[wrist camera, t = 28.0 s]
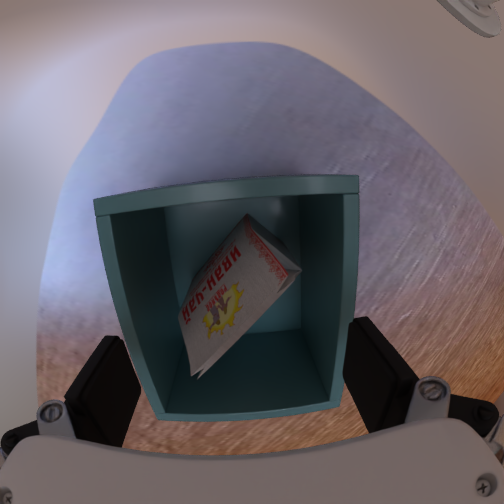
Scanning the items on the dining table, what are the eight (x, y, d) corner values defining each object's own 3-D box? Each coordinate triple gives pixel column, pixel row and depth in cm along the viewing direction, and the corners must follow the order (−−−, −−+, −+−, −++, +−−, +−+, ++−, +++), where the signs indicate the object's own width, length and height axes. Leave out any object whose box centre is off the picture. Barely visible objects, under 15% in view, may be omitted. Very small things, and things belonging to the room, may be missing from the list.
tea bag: (284, 243, 21) (324, 303, 11) (228, 306, 22) (225, 395, 12) (247, 212, 20) (257, 249, 10) (192, 279, 21) (162, 358, 11)
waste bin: (154, 187, 20) (92, 199, 10) (304, 174, 20) (359, 175, 11) (180, 340, 23) (157, 420, 14) (307, 329, 24) (339, 407, 14)
